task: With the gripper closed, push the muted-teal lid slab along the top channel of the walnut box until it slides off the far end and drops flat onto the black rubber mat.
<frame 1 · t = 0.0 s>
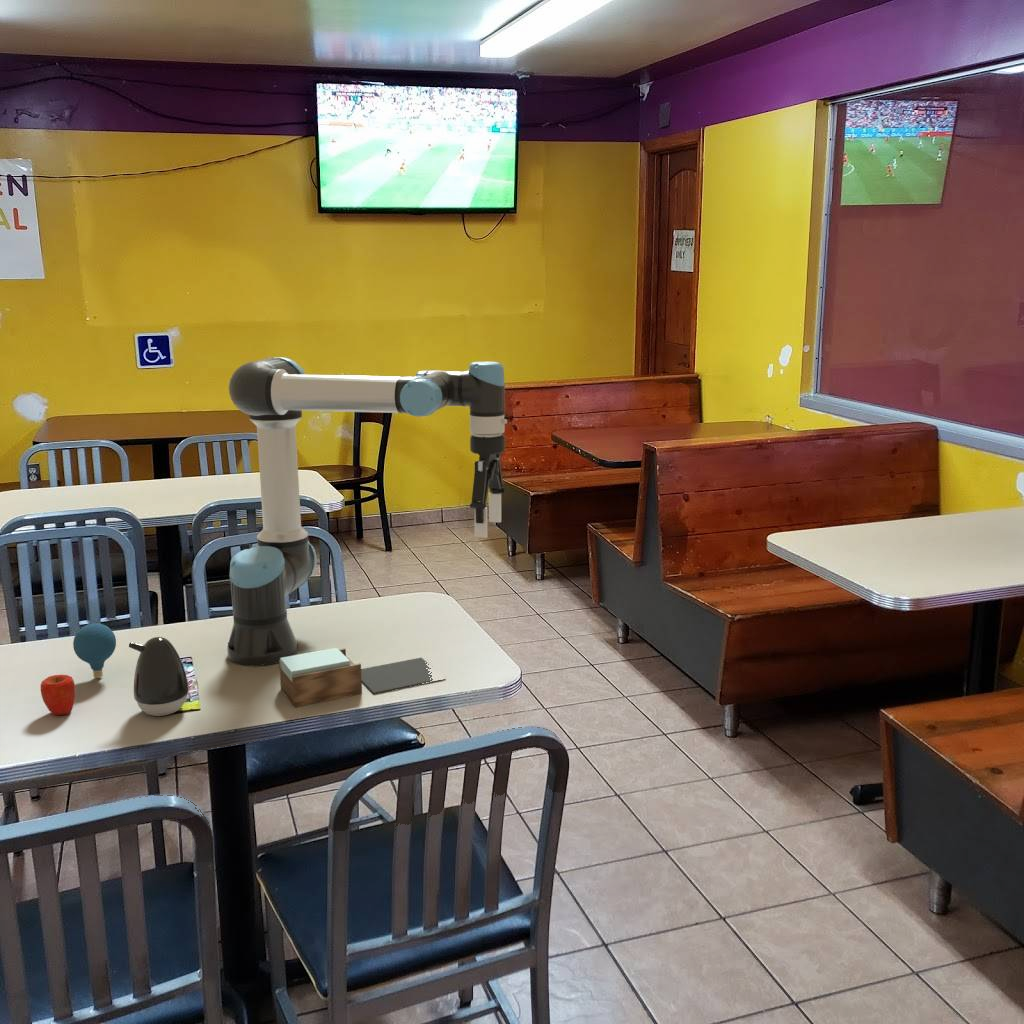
hand: (488, 529, 226), 28 cm above the table, fingers open, 13 cm apart
pump dispenser: (162, 711, 201), on the table
light bulb: (98, 678, 217), on the table
apple: (60, 713, 200), on the table
mat: (398, 676, 217), on the table
box: (321, 691, 210), on the table
lid: (315, 669, 208), point 5 cm above the table, touching box
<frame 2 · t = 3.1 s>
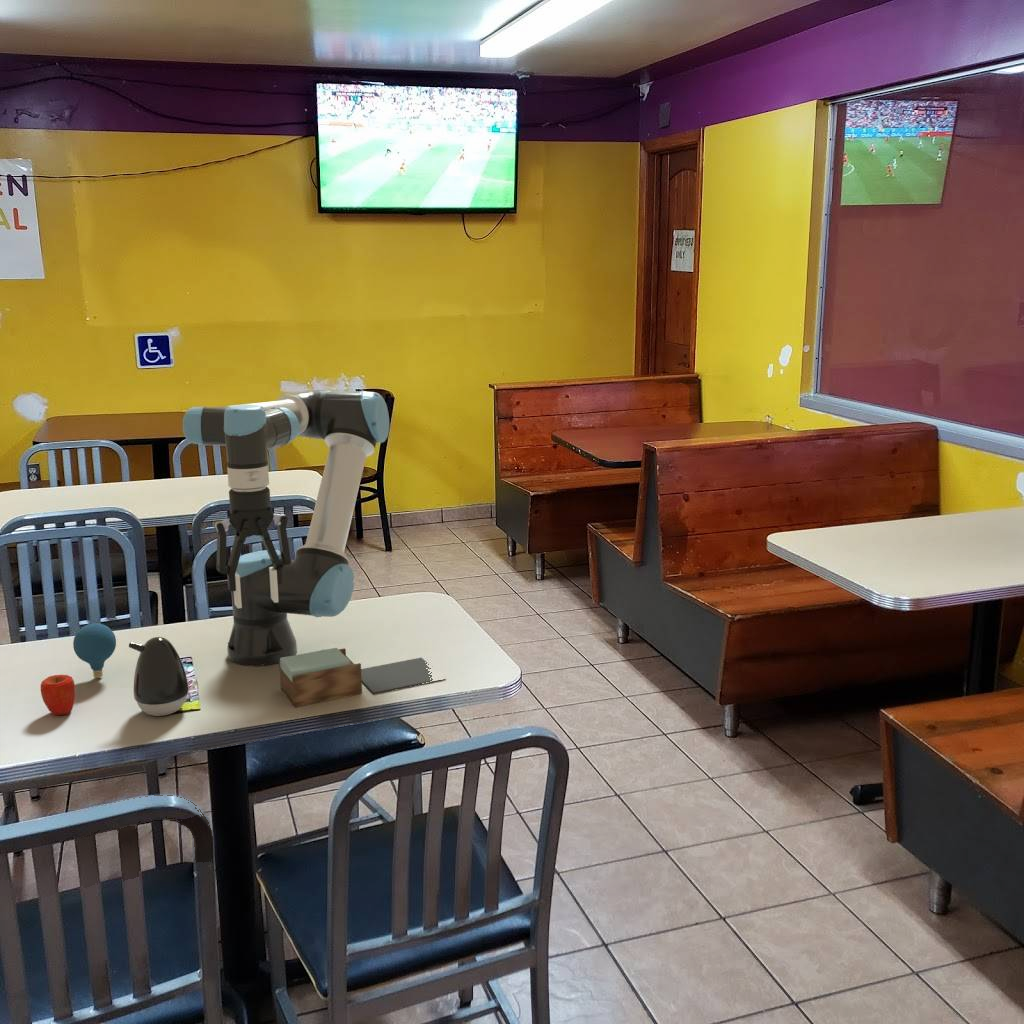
hand: (256, 603, 199), 21 cm above the table, fingers open, 6 cm apart
nothing on the table moved.
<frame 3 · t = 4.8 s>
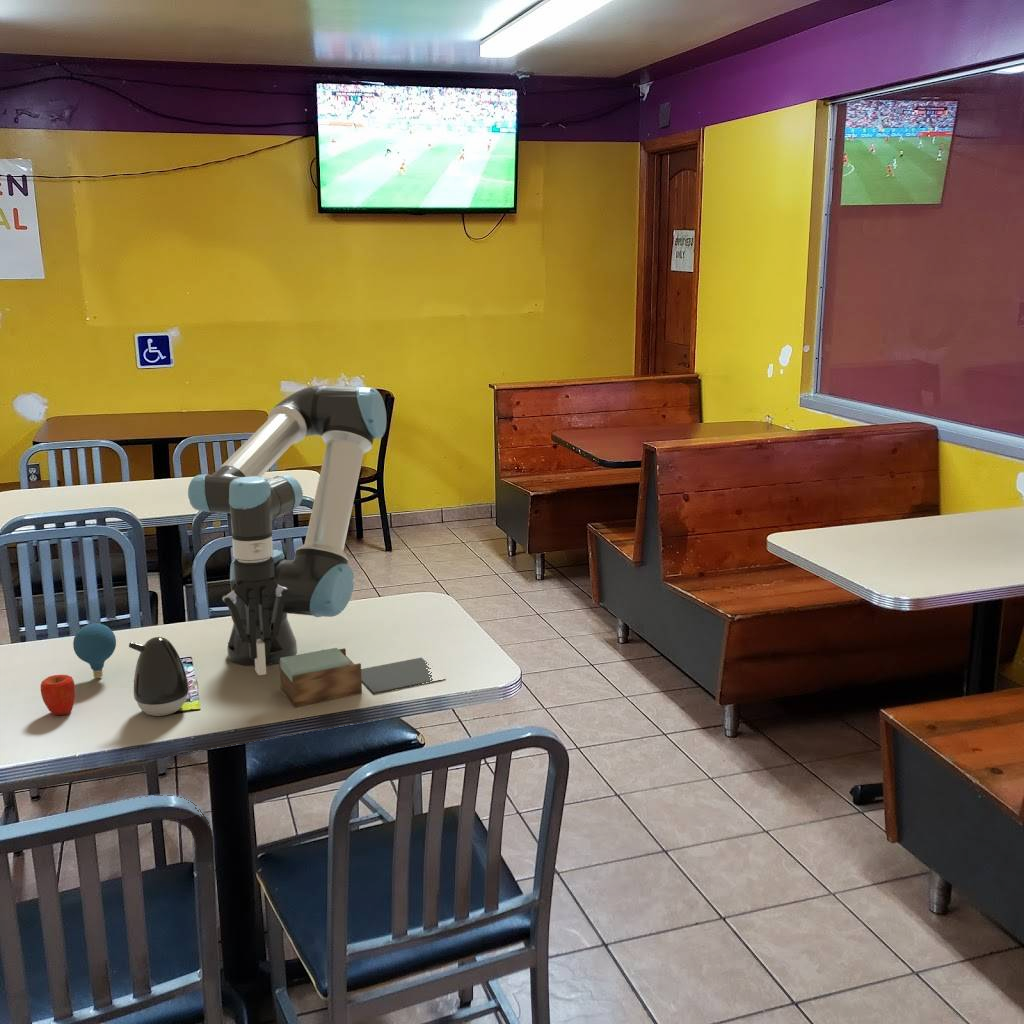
hand: (260, 672, 202), 7 cm above the table, fingers closed
nothing on the table moved.
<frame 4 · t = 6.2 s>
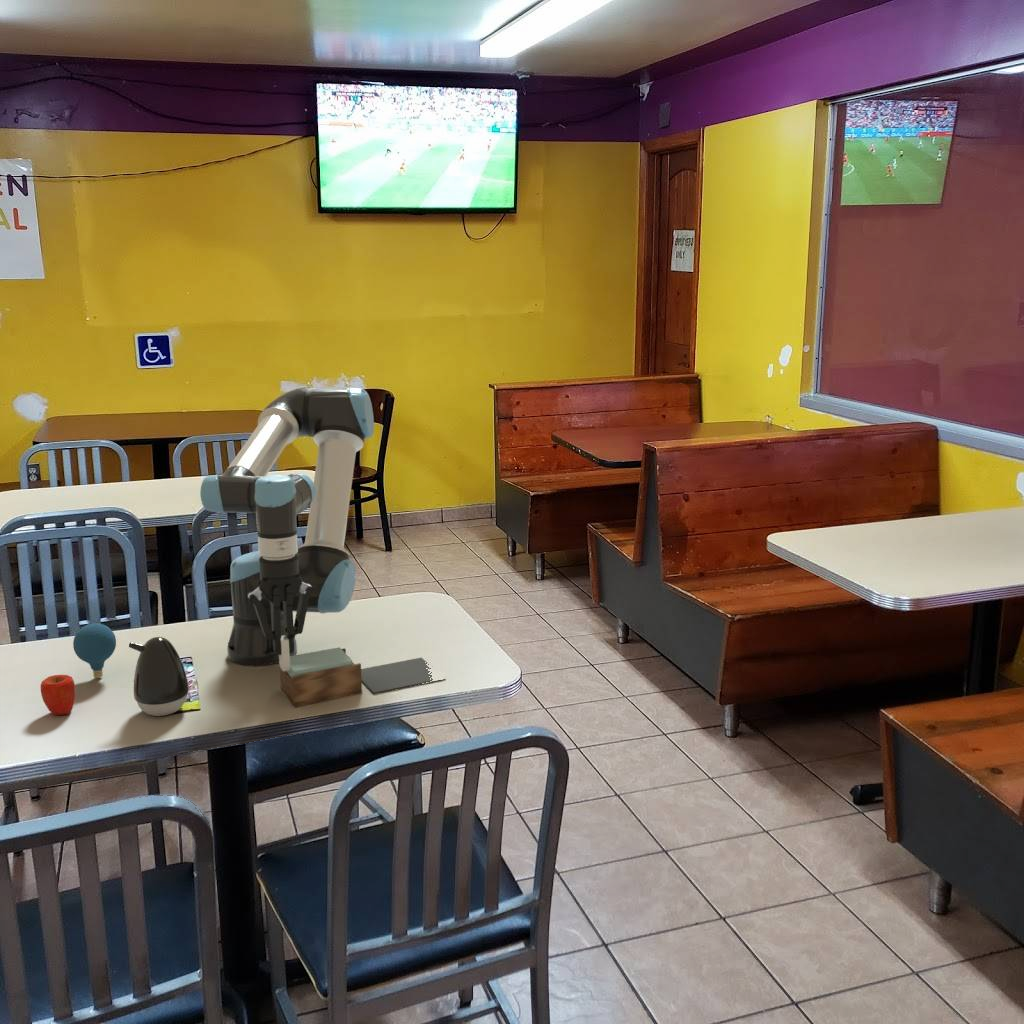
hand: (285, 668, 205), 6 cm above the table, fingers closed
lid: (317, 669, 208), point 5 cm above the table, touching gripper
everything else where it was.
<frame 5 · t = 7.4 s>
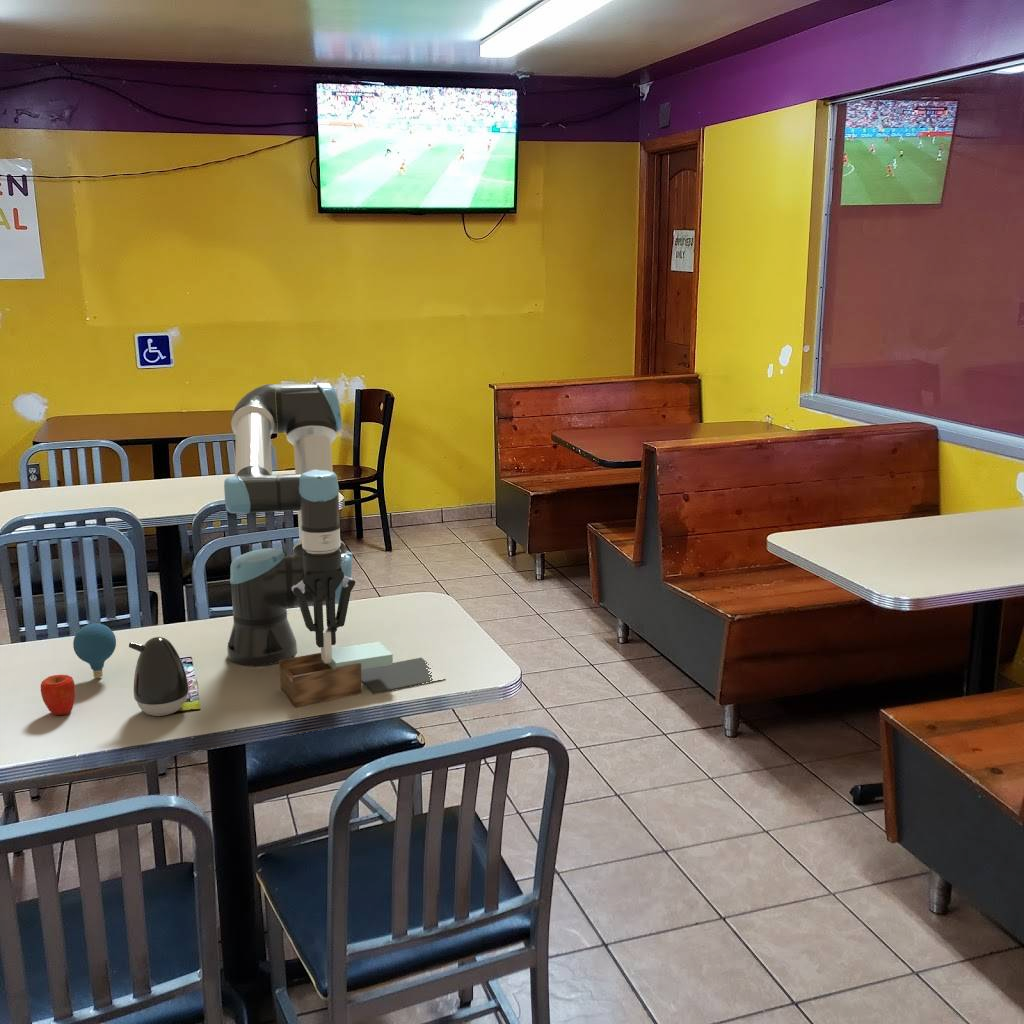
hand: (326, 660, 209), 7 cm above the table, fingers closed
lid: (358, 662, 212), point 5 cm above the table, touching gripper
everything else where it was.
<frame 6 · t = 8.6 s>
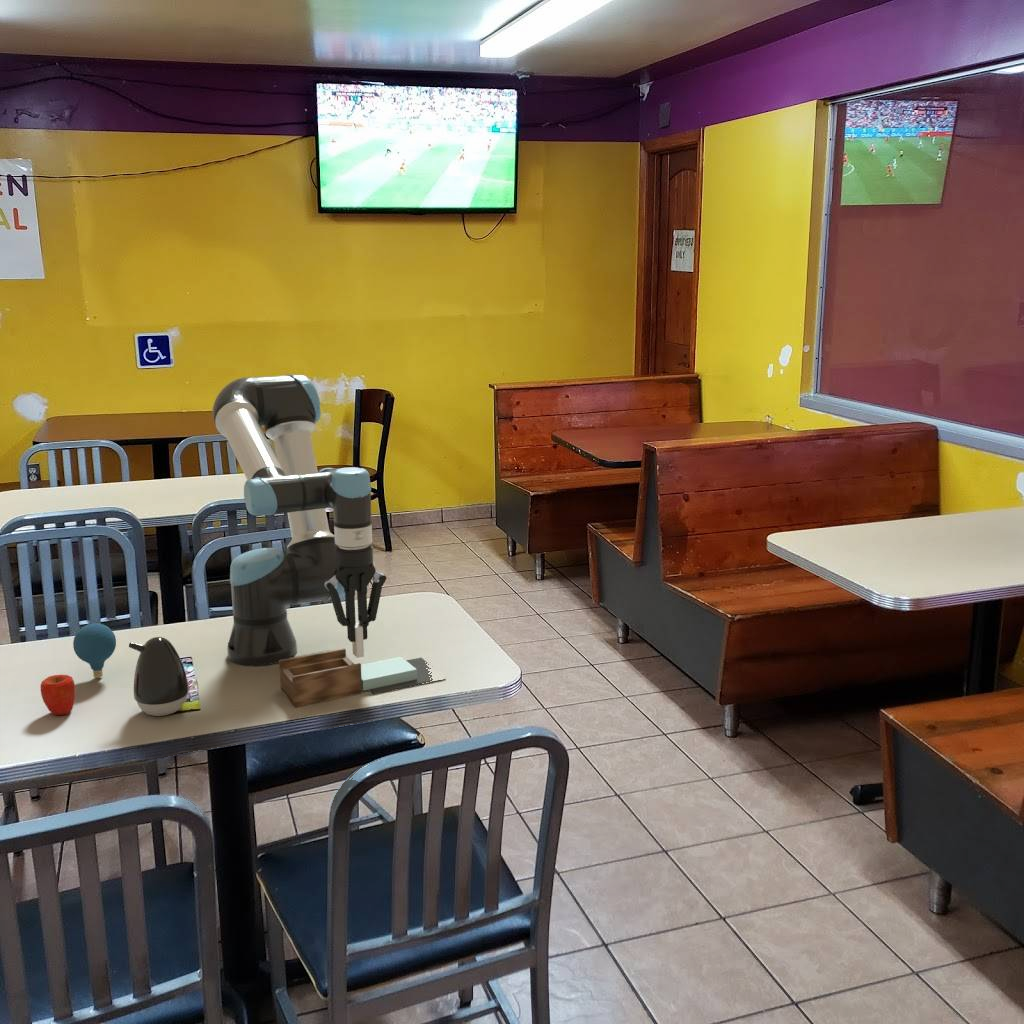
hand: (358, 654, 212), 6 cm above the table, fingers closed
lid: (382, 678, 215), resting on mat
everything else where it was.
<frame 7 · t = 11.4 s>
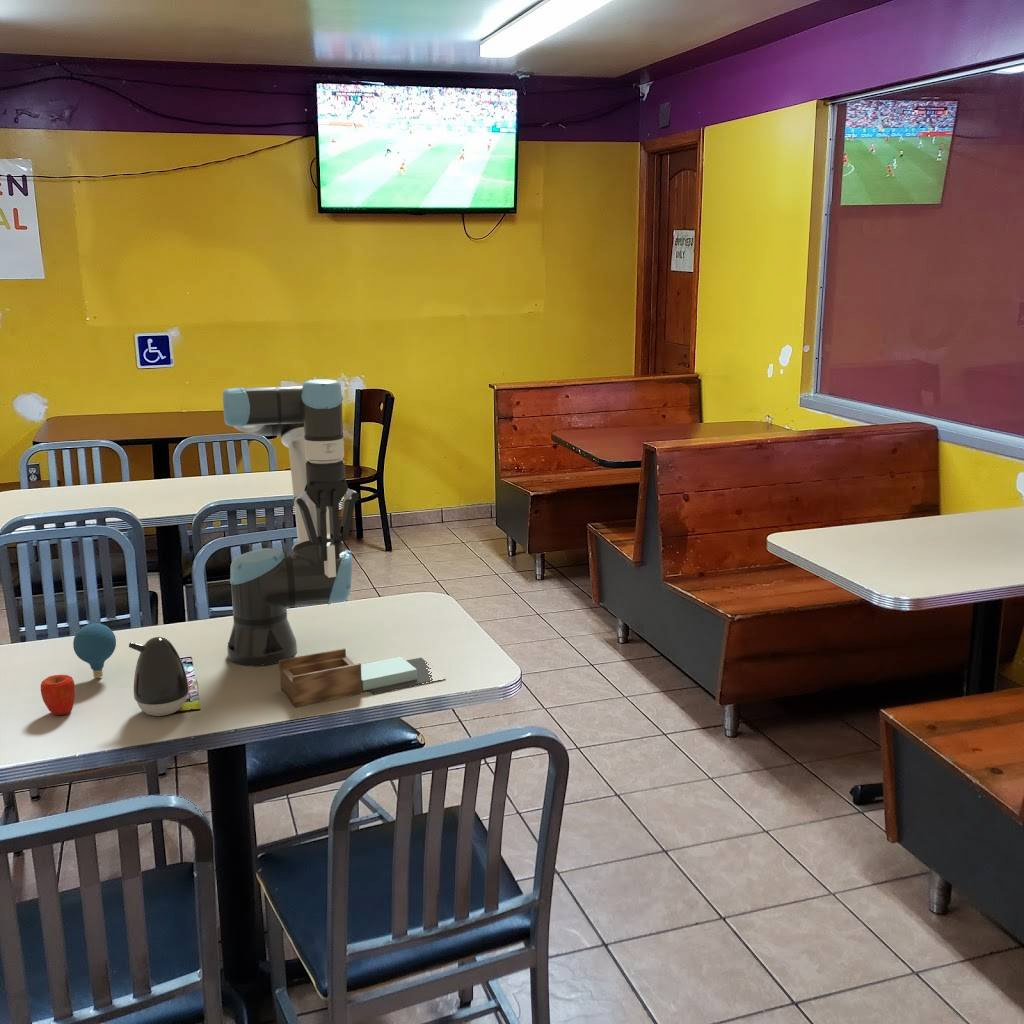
hand: (330, 575, 205), 24 cm above the table, fingers closed
nothing on the table moved.
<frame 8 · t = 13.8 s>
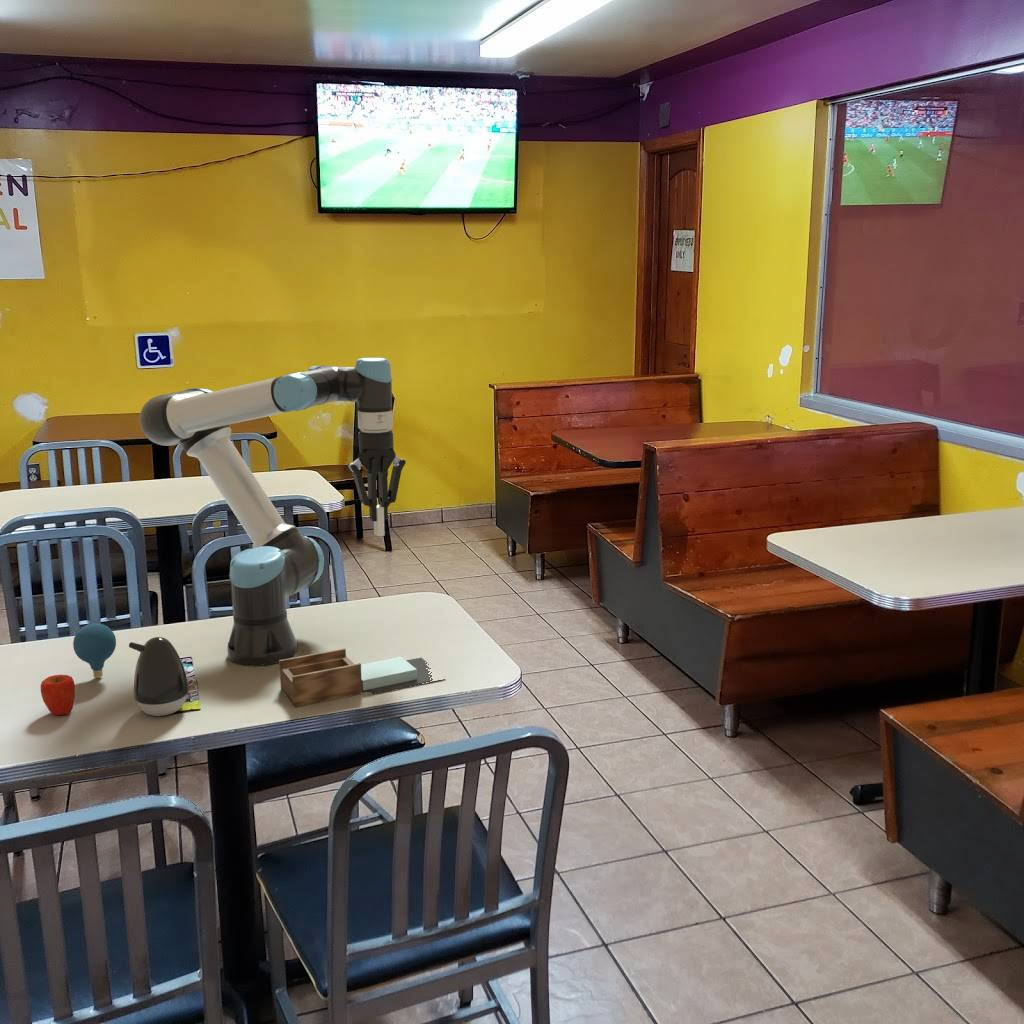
hand: (379, 534, 228), 26 cm above the table, fingers closed
nothing on the table moved.
at the end: lid inside the target area (5.2 cm from its centre), resting on mat; lid tilted 0°; the gripper is holding nothing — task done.
